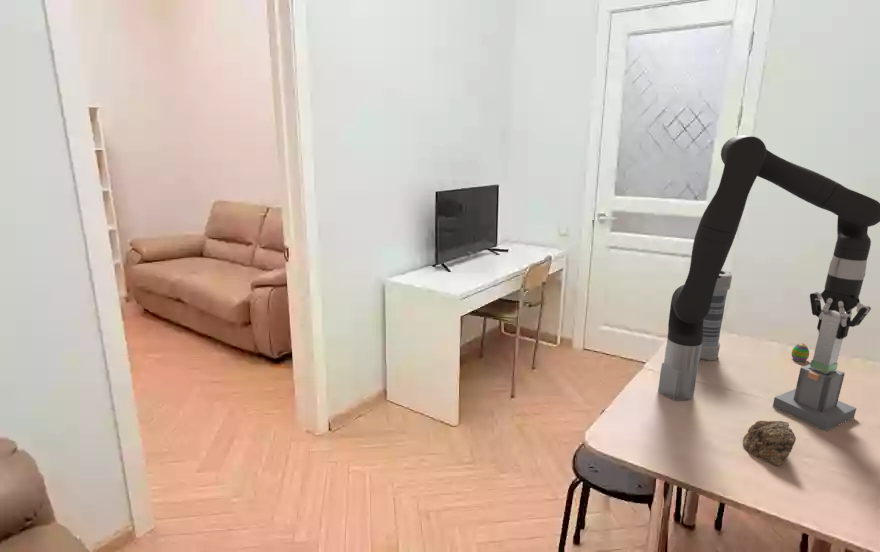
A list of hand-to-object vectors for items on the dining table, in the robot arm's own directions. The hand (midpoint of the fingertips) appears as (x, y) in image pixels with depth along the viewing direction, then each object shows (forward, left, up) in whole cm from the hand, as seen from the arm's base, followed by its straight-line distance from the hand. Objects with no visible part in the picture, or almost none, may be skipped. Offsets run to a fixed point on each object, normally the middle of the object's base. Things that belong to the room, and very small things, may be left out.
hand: (831, 335), depth 142 cm
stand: (0, 0, -23) cm, 23 cm away
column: (0, 0, -14) cm, 14 cm away
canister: (+5, +39, -24) cm, 46 cm away
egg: (+31, +21, -24) cm, 44 cm away
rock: (-29, -4, -24) cm, 38 cm away
